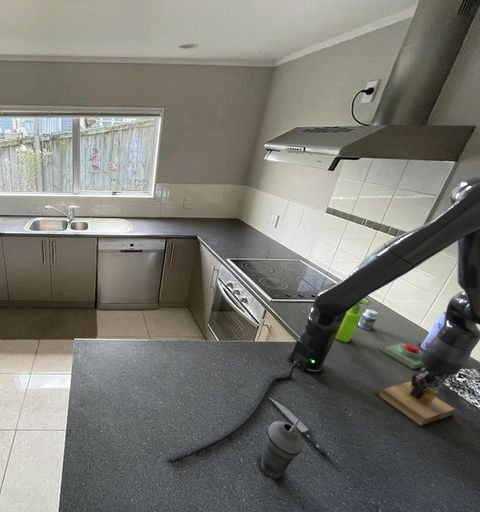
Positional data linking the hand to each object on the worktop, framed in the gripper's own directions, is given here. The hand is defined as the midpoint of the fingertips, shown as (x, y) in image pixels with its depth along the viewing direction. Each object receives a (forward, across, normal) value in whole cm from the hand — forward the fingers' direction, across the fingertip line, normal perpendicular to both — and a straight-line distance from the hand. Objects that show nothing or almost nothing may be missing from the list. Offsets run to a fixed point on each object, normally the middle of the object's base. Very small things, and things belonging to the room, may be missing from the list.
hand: (417, 395), depth 90 cm
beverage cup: (+5, -62, -4) cm, 62 cm away
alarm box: (+4, +26, +16) cm, 31 cm away
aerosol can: (+4, +43, +16) cm, 46 cm away
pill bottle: (+4, +32, +35) cm, 47 cm away
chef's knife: (+4, -44, +4) cm, 44 cm away
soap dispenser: (+4, +12, +31) cm, 33 cm away
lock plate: (+4, 0, 0) cm, 4 cm away
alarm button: (0, +26, +16) cm, 30 cm away
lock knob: (+1, 0, 0) cm, 1 cm away
